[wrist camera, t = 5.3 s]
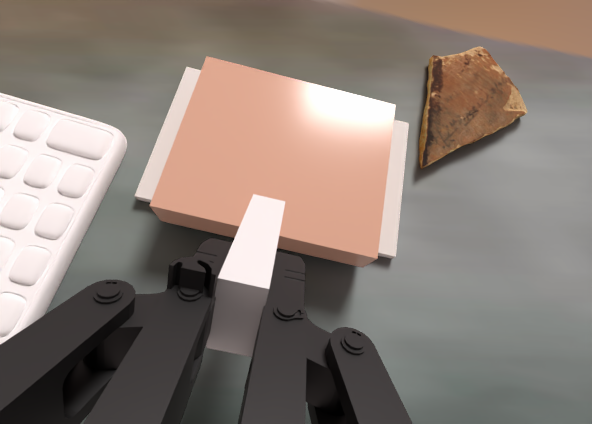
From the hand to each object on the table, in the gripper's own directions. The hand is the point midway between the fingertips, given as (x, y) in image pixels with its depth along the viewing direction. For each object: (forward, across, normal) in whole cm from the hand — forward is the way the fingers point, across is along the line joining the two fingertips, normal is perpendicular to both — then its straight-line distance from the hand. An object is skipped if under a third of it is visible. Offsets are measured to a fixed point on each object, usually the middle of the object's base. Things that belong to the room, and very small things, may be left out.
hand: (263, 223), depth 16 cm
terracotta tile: (+2, 0, -2) cm, 3 cm away
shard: (+14, +13, +6) cm, 20 cm away
